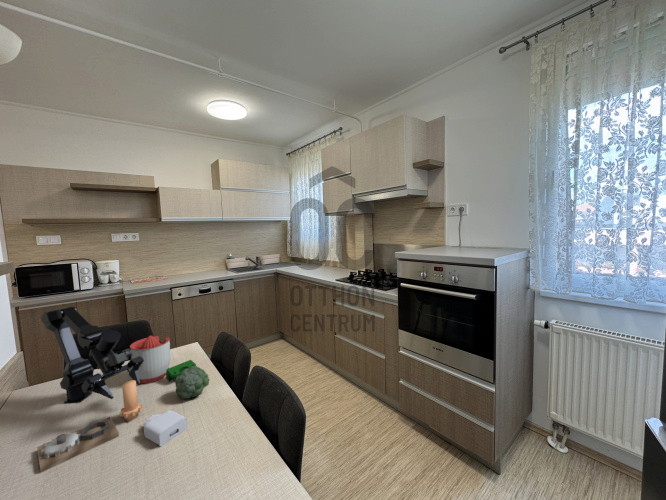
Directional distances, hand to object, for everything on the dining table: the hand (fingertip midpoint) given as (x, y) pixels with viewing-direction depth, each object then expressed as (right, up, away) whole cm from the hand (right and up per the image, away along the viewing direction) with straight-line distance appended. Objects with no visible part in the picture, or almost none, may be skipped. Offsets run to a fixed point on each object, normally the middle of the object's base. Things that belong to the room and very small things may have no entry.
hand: (126, 391), depth 102 cm
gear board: (-6, -10, -13) cm, 17 cm away
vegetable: (+17, -8, +15) cm, 24 cm away
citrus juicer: (-8, -8, +29) cm, 31 cm away
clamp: (+6, -8, +27) cm, 29 cm away
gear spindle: (+2, -9, 0) cm, 10 cm away
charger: (+17, -10, -7) cm, 21 cm away
